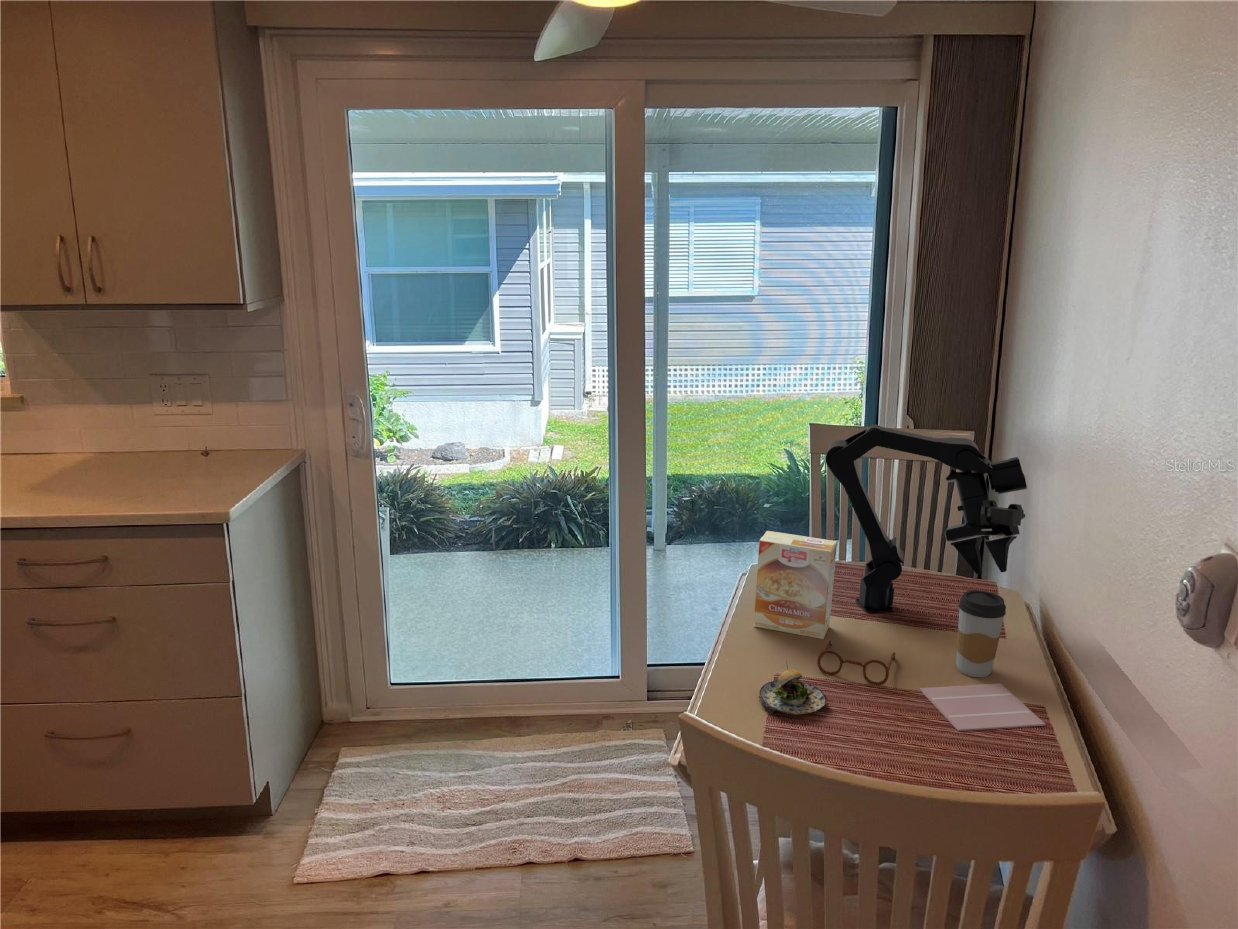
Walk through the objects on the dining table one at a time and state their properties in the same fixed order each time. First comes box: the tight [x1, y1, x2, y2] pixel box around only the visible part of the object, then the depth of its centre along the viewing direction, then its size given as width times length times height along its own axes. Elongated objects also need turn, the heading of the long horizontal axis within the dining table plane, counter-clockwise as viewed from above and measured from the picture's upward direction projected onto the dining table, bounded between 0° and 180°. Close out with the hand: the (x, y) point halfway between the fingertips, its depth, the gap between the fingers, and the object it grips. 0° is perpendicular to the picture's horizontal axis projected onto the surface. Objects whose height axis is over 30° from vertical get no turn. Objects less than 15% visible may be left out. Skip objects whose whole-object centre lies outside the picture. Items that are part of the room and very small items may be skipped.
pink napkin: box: [919, 683, 1046, 732], centre depth 159 cm, size 16×14×1 cm
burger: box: [758, 659, 828, 716], centre depth 158 cm, size 12×12×8 cm
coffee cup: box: [955, 589, 1007, 678], centre depth 170 cm, size 8×8×15 cm
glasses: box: [816, 640, 896, 686], centre depth 173 cm, size 13×13×5 cm
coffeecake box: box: [753, 530, 838, 640], centre depth 187 cm, size 15×7×20 cm, turn 68°
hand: (991, 573), depth 183 cm, fingers open, 9 cm apart
